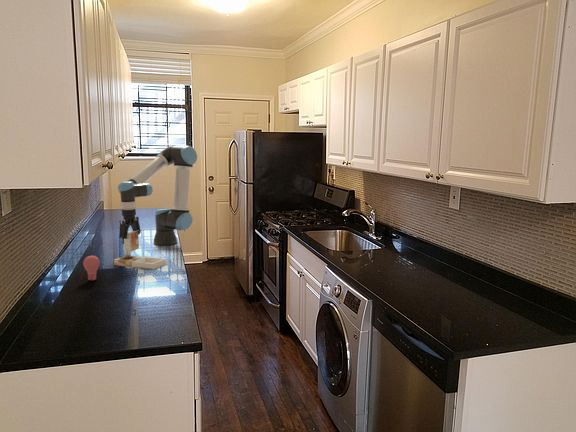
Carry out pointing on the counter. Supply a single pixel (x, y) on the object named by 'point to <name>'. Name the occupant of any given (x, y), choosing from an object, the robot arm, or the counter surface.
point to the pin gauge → (127, 248)
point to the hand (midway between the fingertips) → (131, 247)
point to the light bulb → (91, 266)
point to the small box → (133, 240)
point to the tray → (149, 263)
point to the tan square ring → (125, 261)
